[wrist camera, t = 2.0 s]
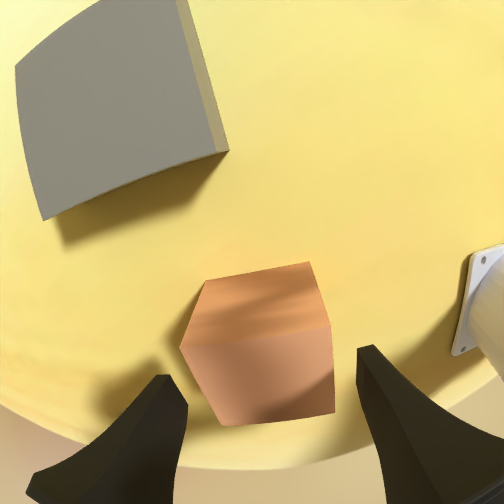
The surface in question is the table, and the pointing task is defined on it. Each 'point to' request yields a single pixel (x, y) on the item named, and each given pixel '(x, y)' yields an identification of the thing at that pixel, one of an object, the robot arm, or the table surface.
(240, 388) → the terracotta cube
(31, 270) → the table surface
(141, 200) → the table surface
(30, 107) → the gray block
